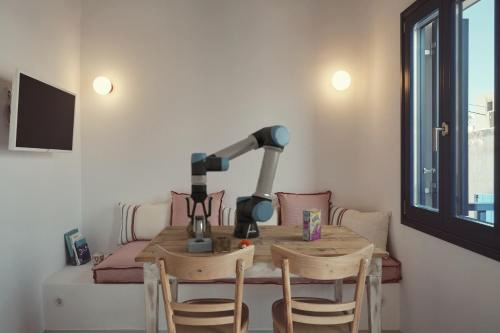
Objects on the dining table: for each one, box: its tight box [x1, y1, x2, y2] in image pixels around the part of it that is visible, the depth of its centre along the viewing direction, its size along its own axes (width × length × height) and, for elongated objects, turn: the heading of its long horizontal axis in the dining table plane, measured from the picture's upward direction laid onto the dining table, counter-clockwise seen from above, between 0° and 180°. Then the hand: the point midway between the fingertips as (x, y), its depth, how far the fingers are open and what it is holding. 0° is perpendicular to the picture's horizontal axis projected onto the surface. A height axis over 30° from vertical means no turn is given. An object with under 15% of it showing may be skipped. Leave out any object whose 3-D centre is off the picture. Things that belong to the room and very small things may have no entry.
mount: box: [211, 235, 232, 253], centre depth 166 cm, size 8×8×6 cm
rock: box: [186, 219, 212, 238], centre depth 202 cm, size 20×14×10 cm
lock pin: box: [194, 214, 205, 243], centre depth 168 cm, size 4×4×15 cm
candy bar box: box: [302, 208, 322, 242], centre depth 188 cm, size 11×5×16 cm, turn 134°
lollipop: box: [237, 225, 256, 249], centre depth 171 cm, size 6×10×12 cm, turn 95°
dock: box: [186, 237, 213, 254], centre depth 168 cm, size 11×11×4 cm
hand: (199, 231), depth 168 cm, fingers closed on lock pin, 4 cm apart
